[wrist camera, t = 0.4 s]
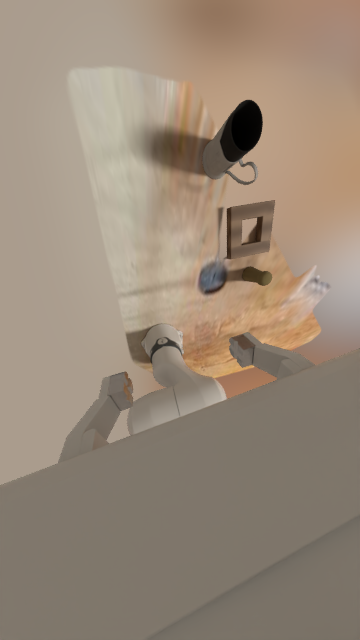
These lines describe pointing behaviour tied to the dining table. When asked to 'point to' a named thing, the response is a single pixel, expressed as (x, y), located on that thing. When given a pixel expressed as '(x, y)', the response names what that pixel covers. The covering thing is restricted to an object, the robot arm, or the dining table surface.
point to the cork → (257, 276)
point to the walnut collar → (263, 230)
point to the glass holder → (234, 141)
